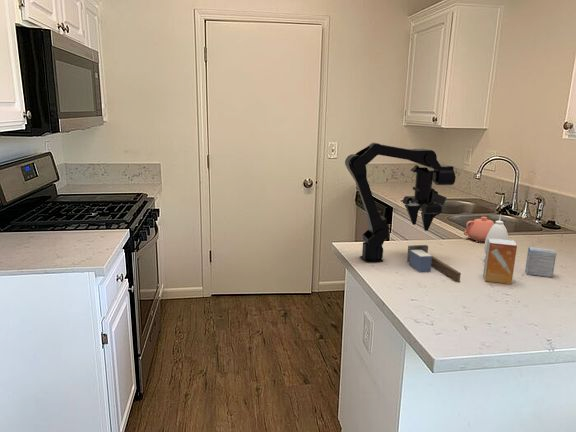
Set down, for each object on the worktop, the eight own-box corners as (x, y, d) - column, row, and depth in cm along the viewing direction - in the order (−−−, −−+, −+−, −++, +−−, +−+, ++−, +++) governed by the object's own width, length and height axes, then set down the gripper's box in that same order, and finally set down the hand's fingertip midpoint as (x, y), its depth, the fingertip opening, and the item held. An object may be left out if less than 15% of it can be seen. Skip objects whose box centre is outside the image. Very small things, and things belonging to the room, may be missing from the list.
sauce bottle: (509, 262, 170) (515, 214, 166) (501, 267, 164) (508, 217, 161) (487, 257, 175) (493, 210, 171) (479, 262, 170) (485, 213, 166)
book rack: (438, 283, 147) (439, 265, 146) (406, 261, 168) (408, 245, 167) (459, 281, 149) (461, 264, 147) (426, 260, 170) (427, 244, 168)
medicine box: (550, 273, 159) (554, 249, 157) (553, 277, 155) (556, 252, 153) (524, 270, 161) (528, 246, 159) (526, 274, 157) (530, 250, 155)
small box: (484, 281, 150) (489, 242, 147) (482, 275, 156) (487, 237, 153) (512, 284, 147) (517, 245, 144) (509, 278, 153) (514, 240, 150)
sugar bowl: (502, 244, 194) (505, 220, 192) (468, 243, 194) (471, 219, 192) (490, 236, 206) (492, 214, 204) (458, 236, 206) (460, 213, 204)
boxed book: (419, 272, 157) (421, 256, 156) (408, 265, 165) (410, 249, 163) (430, 272, 158) (432, 256, 157) (419, 264, 165) (420, 249, 164)
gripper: (458, 188, 158) (454, 233, 161) (431, 180, 176) (427, 221, 179) (428, 189, 156) (424, 234, 159) (403, 181, 173) (400, 222, 177)
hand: (419, 227), depth 168 cm, fingers open, 9 cm apart
